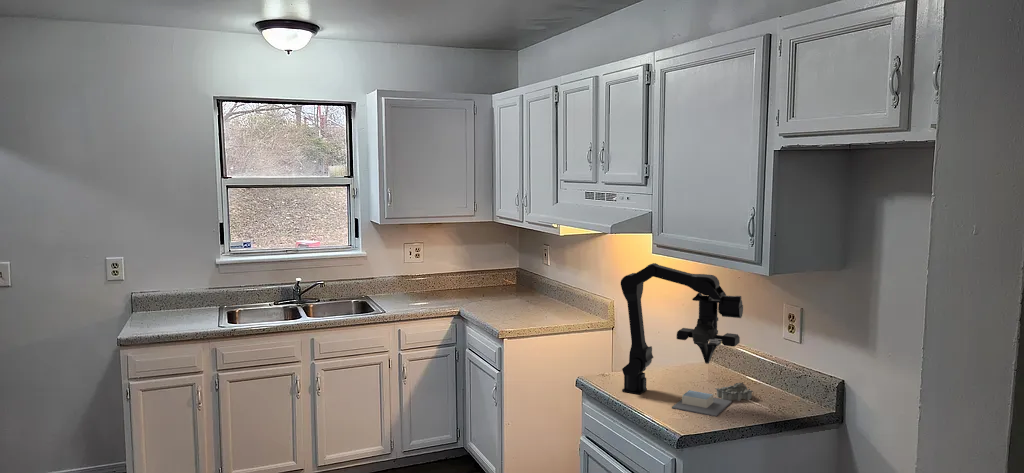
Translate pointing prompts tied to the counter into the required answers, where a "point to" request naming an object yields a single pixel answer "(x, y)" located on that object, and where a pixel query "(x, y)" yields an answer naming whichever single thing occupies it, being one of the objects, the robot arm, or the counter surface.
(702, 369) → the counter surface
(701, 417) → the counter surface
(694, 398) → the card box
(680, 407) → the mat
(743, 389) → the egg carton
